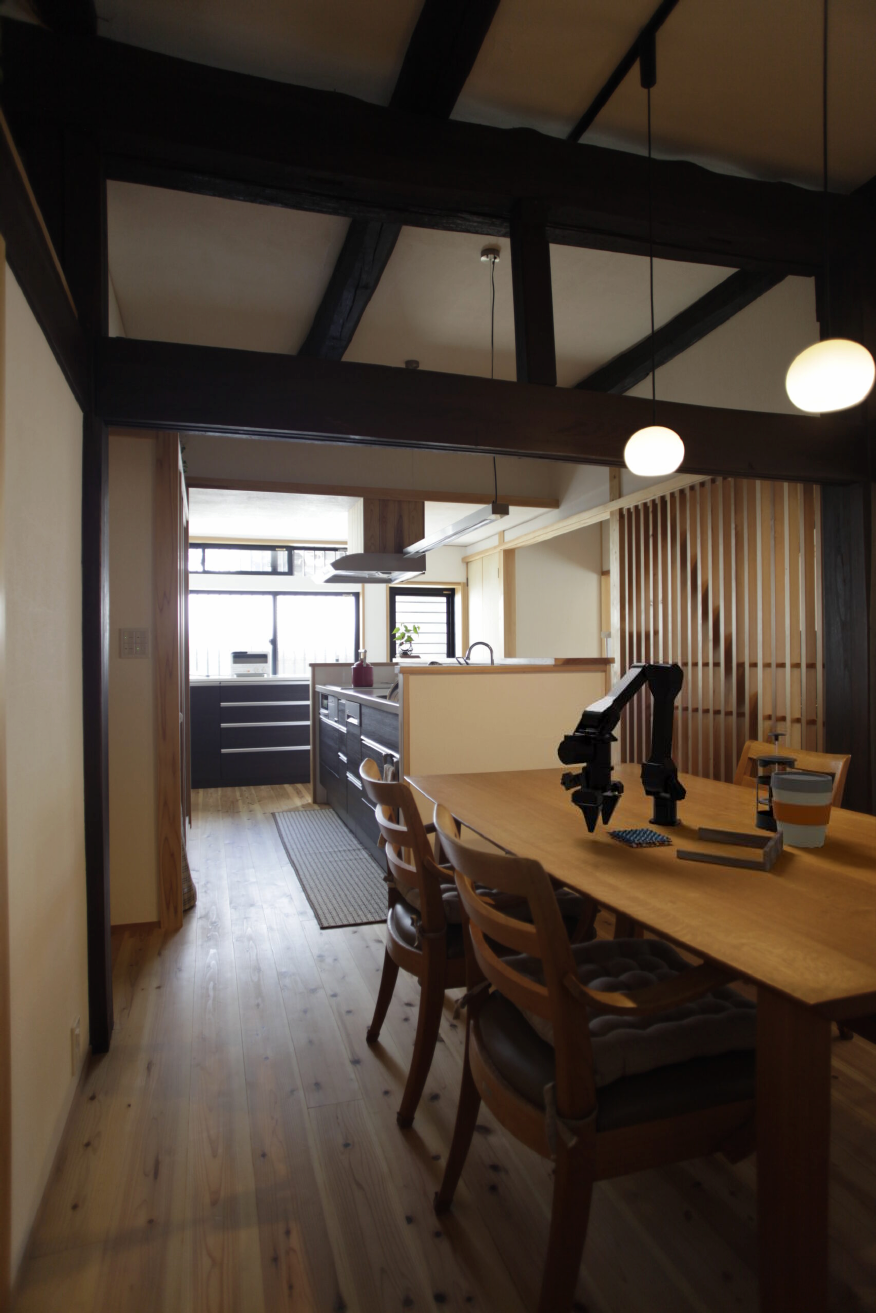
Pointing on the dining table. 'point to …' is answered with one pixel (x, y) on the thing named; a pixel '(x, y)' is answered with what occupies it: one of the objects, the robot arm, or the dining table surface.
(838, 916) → the dining table surface
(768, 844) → the box
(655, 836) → the woven mat
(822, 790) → the reusable coffee cup
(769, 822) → the french press
